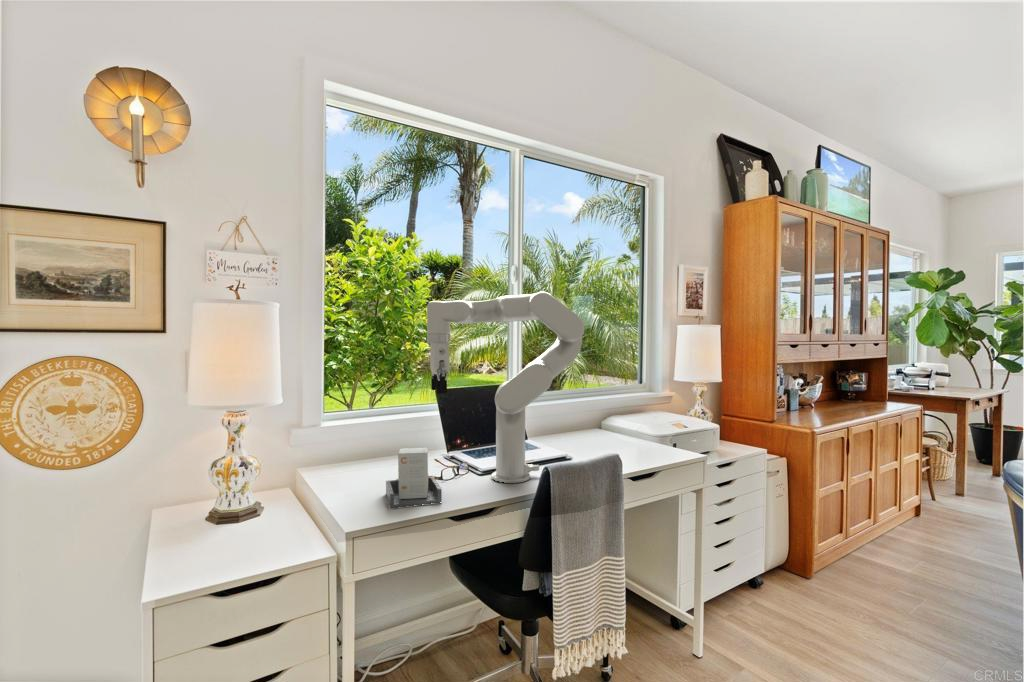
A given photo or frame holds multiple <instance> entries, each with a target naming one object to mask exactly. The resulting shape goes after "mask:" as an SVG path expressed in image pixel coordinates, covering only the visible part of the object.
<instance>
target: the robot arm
mask: <svg viewBox="0 0 1024 682" xmlns="http://www.w3.org/2000/svg"><path fill="white" fill-rule="evenodd" d="M426 306H427V307H426V320H427V321H426V330H427V331H426V332H427V333H426V334H427V335H426V336H427V337H426V342H427V343H426V344H428V345H429V344H430V353H429V355H430V356H429V358H430V359H429V360H430V361H429V364H430V366H429V367H430V372H431V378H430V379H431V381H430V382H431V385H430V386H431V390H432V391H436V393H437V394H447V393H448V377H447V375H449V374H450V373H451V370H450V369H451V366H450V349H449V344H451V323H453V324H461V325H467V324H468V325H469V324H481V323H485V324H486V323H511V322H523V321H525V322H526V321H539V322H540V323H542V324H543V325H545V326H546V327H547V328H548V329H550V330H551V331H552V332H553V333H554V334H556V335H557V337H556V340H555V342H554V343H553V344H552V345H551V346H550V347H549V348H548V349H546V350H545V351H544V352H543V353H542V354H541V355H539V356H538V357H536V358H535V359H534V360H532V361H531V362H529V363H528V364H526V365H525V366H524V368H523V369H522V370H520V372H518V373H517V374H516V375H515V376H513V377H512V378H511V379H509V380H507V381H504V382H503V383H501V384H500V385H499V386H498V388H497V390H496V391H495V396H494V404H495V408H496V409H495V410H496V411H495V471H494V472H492V473H491V475H490V476H491V478H490V479H491V480H493V479H494V480H495V481H494V480H493V481H494V482H497V481H499V482H498V483H502V482H504V483H503V484H517V483H518V484H519V483H523V482H527V481H529V480H530V478H531V475H530V473H531V472H538V471H539V472H540V465H539V464H533V463H531V464H528V463H526V408H527V407H528V406H529V405H530V404H531V403H533V402H534V401H535V400H537V399H538V398H539V397H540V396H542V395H543V394H544V393H545V392H546V391H547V390H548V389H550V387H551V385H552V383H553V380H554V379H555V378H556V377H557V376H559V375H560V374H561V373H562V372H563V371H564V370H565V369H567V368H568V367H569V366H570V365H572V363H573V362H574V361H576V360H577V357H578V355H579V354H580V351H581V349H582V344H583V336H584V334H585V329H586V327H585V324H584V321H583V320H582V318H580V317H579V316H578V315H577V314H576V313H575V312H573V311H572V310H571V309H570V308H568V307H567V306H566V305H565V304H563V303H562V302H561V301H559V300H558V299H557V298H556V297H555V296H553V295H552V294H551V293H549V292H546V291H538V292H536V293H531V294H528V293H527V294H516V295H515V294H514V295H503V296H499V297H496V298H493V299H486V300H477V301H473V300H472V301H466V300H461V299H459V300H452V301H442V300H432V301H429V302H428V303H427V305H426Z"/></svg>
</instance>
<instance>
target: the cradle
mask: <svg viewBox="0 0 1024 682" xmlns="http://www.w3.org/2000/svg"><path fill="white" fill-rule="evenodd" d="M442 492H443V491H442V487H441V485H440V484H439V482H438V481H437V480H436V478H435V477H434V476H428V496H427V498H412V499H399V479H398V478H396V479H393V480H392V479H389V480H385V495H386V500H387V499H388V500H387V502H388V507H389V506H390V507H389V509H390V508H394V509H400V508H399V507H403V508H407V507H406V506H412V507H415V506H414V505H421V506H423V505H422V504H431V503H440V502H442V499H443V498H442ZM440 504H441V503H440ZM431 505H432V504H431Z"/></svg>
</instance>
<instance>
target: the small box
mask: <svg viewBox="0 0 1024 682" xmlns="http://www.w3.org/2000/svg"><path fill="white" fill-rule="evenodd" d="M397 458H398V461H397V462H398V463H397V464H398V469H397V472H398V478H397V479H399V499H412V498H427V496H428V477H429V449H428V447H412V448H411V447H408V448H407V447H406V448H400V449H399V451H398V453H397Z"/></svg>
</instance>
